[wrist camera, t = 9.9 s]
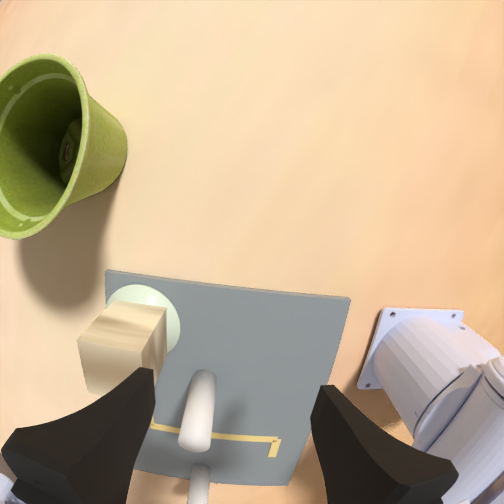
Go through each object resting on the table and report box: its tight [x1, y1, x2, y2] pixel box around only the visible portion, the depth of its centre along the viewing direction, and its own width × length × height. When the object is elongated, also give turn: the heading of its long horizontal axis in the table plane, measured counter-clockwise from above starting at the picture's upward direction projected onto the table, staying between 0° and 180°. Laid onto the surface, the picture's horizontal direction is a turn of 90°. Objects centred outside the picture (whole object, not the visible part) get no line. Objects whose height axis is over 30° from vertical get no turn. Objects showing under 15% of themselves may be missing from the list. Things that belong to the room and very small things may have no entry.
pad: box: [105, 284, 181, 353], centre depth 20 cm, size 6×6×1 cm
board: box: [105, 270, 351, 504], centre depth 20 cm, size 18×24×8 cm
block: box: [77, 300, 167, 396], centre depth 17 cm, size 4×4×6 cm
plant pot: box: [0, 54, 127, 240], centre depth 14 cm, size 9×9×9 cm
